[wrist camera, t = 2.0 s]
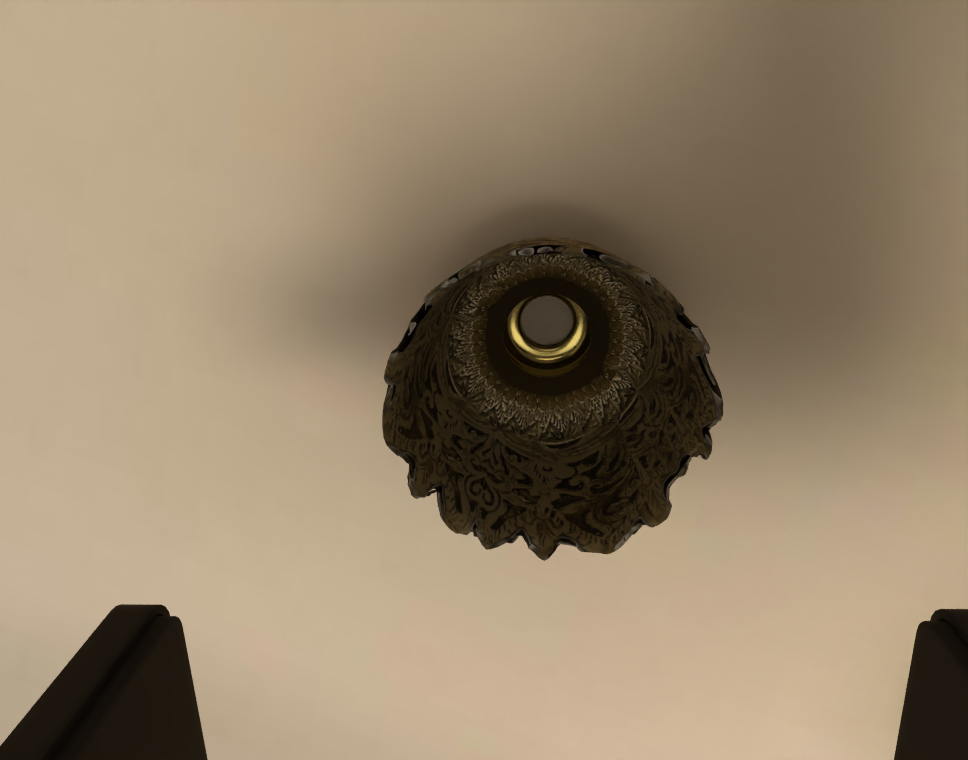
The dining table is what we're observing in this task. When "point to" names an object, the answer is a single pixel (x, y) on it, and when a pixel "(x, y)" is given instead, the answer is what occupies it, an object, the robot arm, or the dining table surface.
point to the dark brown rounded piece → (550, 399)
